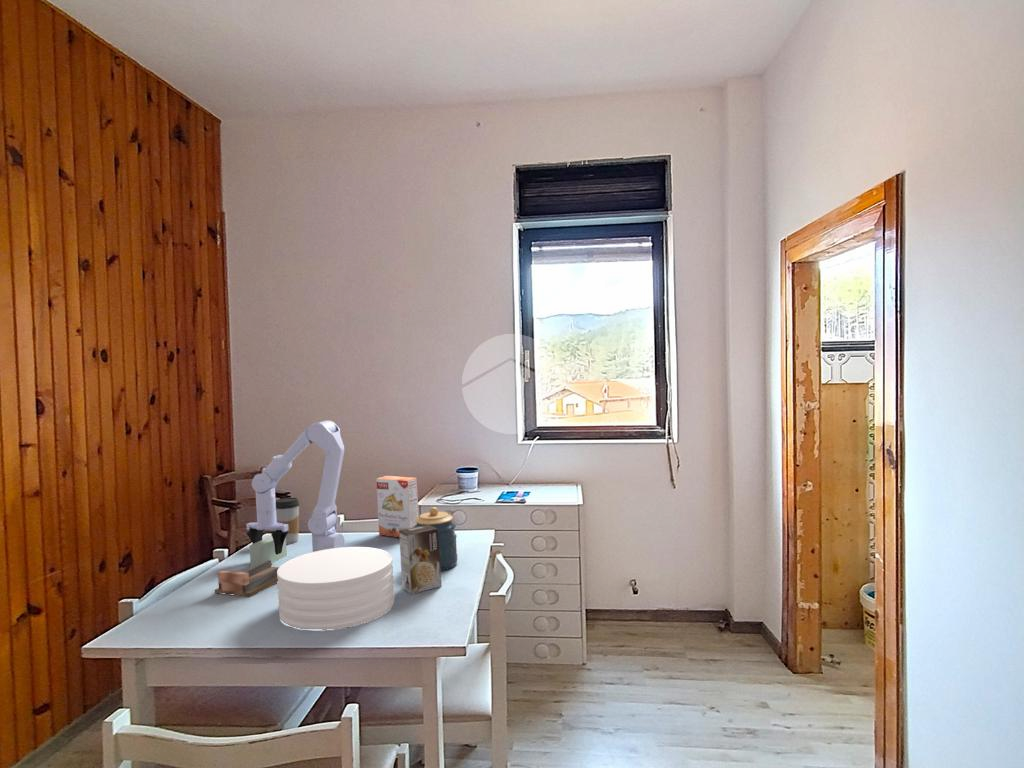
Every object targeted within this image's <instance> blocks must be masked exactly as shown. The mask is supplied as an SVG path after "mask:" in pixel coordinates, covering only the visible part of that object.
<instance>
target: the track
mask: <svg viewBox="0 0 1024 768" xmlns="http://www.w3.org/2000/svg"><path fill="white" fill-rule="evenodd" d="M279 567H280V566H272V563H271V560H267V561H265V562H263V563H261V564H259V565H256V566H254V567H250V568H248V569H246V570H244V571H233V570H220V571H218V572H217V579H218V580H217V582H218V583H217V584H218V588H216V589H214V594H215V593H225V594H234V595H233V596H236V595H244V596H243V597H246V596H251V597H253V596H255V595H256V593H257V594H259V593H261V592H262V590H263V591H264V589H265V590H266V589H268V588H270V587H272V586H274V585H276V584H278V583H277V582H278V579H277V570H278V568H279ZM260 591H261V592H260ZM258 592H259V593H258ZM225 594H224V595H225ZM254 594H255V595H254ZM252 595H253V596H252Z"/></svg>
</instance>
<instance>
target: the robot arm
mask: <svg viewBox="0 0 1024 768" xmlns="http://www.w3.org/2000/svg"><path fill="white" fill-rule="evenodd" d="M341 436H342V435H341V429H340V427H339V426H338V425H337V424H336V423H335V422H334V421H333V420H330V419H325V420H323V421H319V422H313V423H311V424H310V425H309V426H308V427H307V428H306V429H304V430H303V431H302V432H301V434H300V435H299V436H298V438H297V439H296V440H295V441H294V442H293V443H292V444H291V445H290V446H289V448H288V449H287V450H286V451H285V452H284V453H283V454H278V455H274V456H273V457H271V459H270V460H271V462H270V463H269V464H268V465H266V467H263V468H262V469H261V473H257V474H255V475H254V477H253V478H252V481H251V487H252V489H253V490H254V492H255V504H256V508H255V509H256V521H257V522H254V521H253V522H248V523H246V524H245V525H246V530H247V532H246V536H247V537H248V538H249V540H250V541H251V543H252V544H254V543H256V542H259V541H261V540H263V535H264V531H271V532H272V531H273V532H272V533H271V536H272V538H273V541H274V545H275V553H276V554H280V553H282V548H283V543H284V540H285V538H286V536H287V534H288V524H282V523H278V522H277V519H276V487H277V485H278V484H279V481H280V480H281V479H282V478H283V477H284V476H285V475H286V474H287V472H288V471H290V470H291V468H292V466H293V461H294V460H295V459H296V458H297V457H298V456H299V455H300V454H301V453H302V452H303V451H304V450H305V449H306V448H307V447H308V446H309V445H311V444H315V445H316V446H317V447H319V448H321V449H322V451H323V452H324V453H325V460H324V463H323V464H324V465H323V470H322V471H323V472H322V475H321V482H320V488H319V492H318V498H317V503H316V504H315V507H314V508H313V511H312V514H311V517H310V518H309V520H308V522H307V528H308V530H309V533H311V543H312V545H311V546H312V552H316V551H320V550H326V549H332V548H341V547H346V543H345V542H346V541H345V536H344V535H343V534H342V533H339V532H337V531H336V527H335V526H337V524H338V519H339V516H338V513H337V509H338V506H337V505H336V500H337V493H338V488H339V482H340V477H341V471H342V466H343V461H344V455H345V445H344V442H343V439H342V437H341Z"/></svg>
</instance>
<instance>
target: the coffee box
mask: <svg viewBox="0 0 1024 768" xmlns="http://www.w3.org/2000/svg"><path fill="white" fill-rule="evenodd" d="M398 540H399V550H400V551H399V553H400V571H401V587H402V589H403V588H404V589H403V590H404V591H406V590H407V591H406V592H408V593H409V594H410V595H414V594H413V593H415V594H417V592H418V593H421V591H422V592H425V590H426V591H428V590H429V591H430V590H433V589H436V588H441V587H442V571H441V568H440V552H439V535H438V528H435V527H433V526H430V525H424V526H419V527H414V528H409V529H404V530H399V539H398Z"/></svg>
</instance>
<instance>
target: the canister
mask: <svg viewBox="0 0 1024 768" xmlns="http://www.w3.org/2000/svg"><path fill="white" fill-rule="evenodd" d="M428 511H429V512H424V513H421V514H420V515H419V517H418V518H416V519H415V522H416V523H417V524H416V525H415V526H414V527H419V526H424V525H430V526H433V527H435V528H438V535H439V552H440V568H441V572H442V571H446V570H450V569H453V568H454V567H456V565H457V564H458V553H457V550H458V549H457V538H458V537H457V534H456V532H455V529H456V528H457V524H456V522H454V521H453V519H454V516H452V515H451V514H450V513H448V512H446V511H439V509H438V507H435V506H432V507H430V508H429V510H428ZM414 527H413V528H414Z"/></svg>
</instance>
